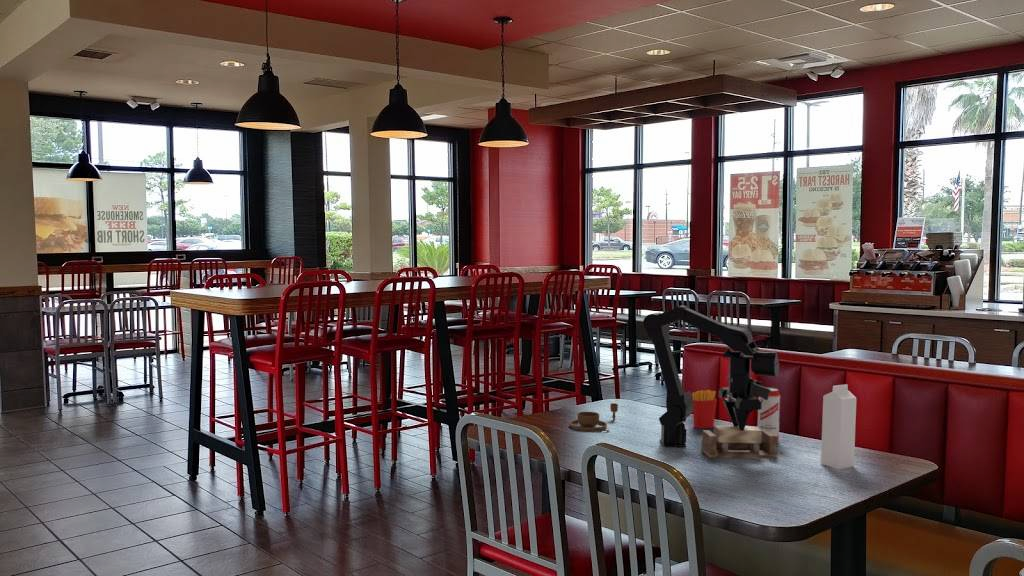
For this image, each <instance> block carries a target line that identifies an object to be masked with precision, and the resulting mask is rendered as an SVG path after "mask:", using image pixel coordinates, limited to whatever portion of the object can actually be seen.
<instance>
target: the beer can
mask: <svg viewBox="0 0 1024 576" xmlns="http://www.w3.org/2000/svg"><path fill="white" fill-rule="evenodd" d="M766 388H768V389H770V390H771V392H770V394H769V397H768V400H765V399H763V398H761V397H758V396H757V399H759V400H760V401H761V402H762V409H761V410H757V425H756V426H757V427H758V428H759V429H761V430H768V431H769V432H771V433H772V434H774V435H775V436H776V443H777V442H779V438H780V413H781V411H780V409H781V394H780V392H779V389H778V388H776V387H766Z"/></svg>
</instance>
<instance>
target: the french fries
mask: <svg viewBox="0 0 1024 576" xmlns="http://www.w3.org/2000/svg"><path fill="white" fill-rule="evenodd" d="M716 393H717V392H716V390H711V389H707V390H705V389H704V390H703V389H701V390H697V391H695V392H694V391H693V392H692V393H691V397H692V401H693V403H694V405H693V411H692V415H693V416H692V417H693V427H694V428H696V429H711V428H713V427H714V428H715V418H716V417H715V416H716V409H717V401H718V399H716Z"/></svg>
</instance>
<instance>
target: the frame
mask: <svg viewBox="0 0 1024 576" xmlns="http://www.w3.org/2000/svg"><path fill="white" fill-rule="evenodd" d="M701 438H702V440H701V441H700V442H701V444H700V445H701V452H702V453H704V455H706V456H707V457H708V458H709V459H745V458H746V459H758V458H759V459H760V458H761V459H771V458H772V459H773V458H774V459H776V458H775V457H777V456H778V455H777V442H776V436H775V435H774V434H772V433H771V432H769V431H768V430H762V442H761V443H725V442H718V441H717V436H716V435H714V433H713V432H712V431H711V430H708V429H703V430H702V437H701ZM777 458H778V457H777Z"/></svg>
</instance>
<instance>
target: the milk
mask: <svg viewBox="0 0 1024 576" xmlns="http://www.w3.org/2000/svg"><path fill="white" fill-rule="evenodd" d="M848 386H849V385H848V384H847V383H846V384H845V383H844V384H838V385H833V386H832V391H831V392H828V393H826V394H824V395H823V398H822V421H821V422H822V424H821V447H820V448H821V449H820V451H821V452H820V465H822V466H825V465H826V466H825V467H828V466H829V468H831V467H832V469H835V468H836V469H835V470H838V469H839V470H840V469H841V470H845V468H846V469H849V468H854V466H855V448H856V446H855V442H856V423H857V422H856V421H857V419H856V418H857V417H856V416H857V397H856V396H855V395H854V394H853V393H852V392H851V391H850V390H849V389H848ZM841 470H840V471H841Z"/></svg>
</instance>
